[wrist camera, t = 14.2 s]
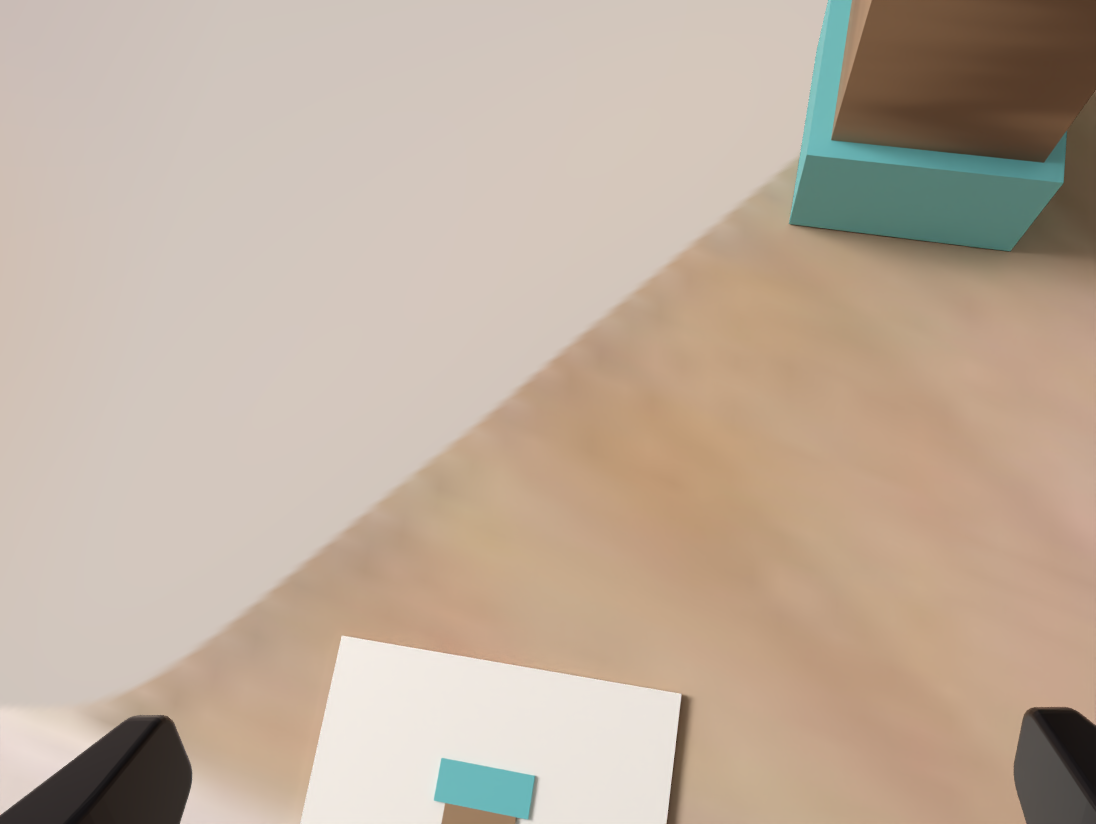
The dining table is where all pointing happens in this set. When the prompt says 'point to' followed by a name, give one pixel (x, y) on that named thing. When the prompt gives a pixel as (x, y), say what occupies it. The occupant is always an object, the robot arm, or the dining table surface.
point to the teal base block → (909, 175)
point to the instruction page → (486, 744)
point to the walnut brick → (966, 75)
